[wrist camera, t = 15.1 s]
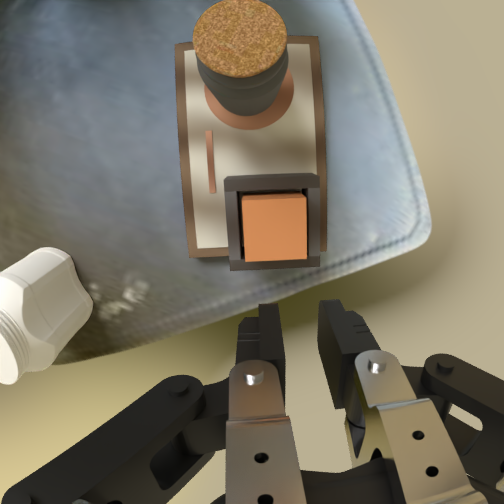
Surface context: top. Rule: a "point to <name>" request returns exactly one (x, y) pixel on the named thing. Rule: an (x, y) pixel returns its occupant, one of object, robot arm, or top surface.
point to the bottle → (242, 54)
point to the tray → (251, 156)
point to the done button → (274, 226)
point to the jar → (39, 311)
